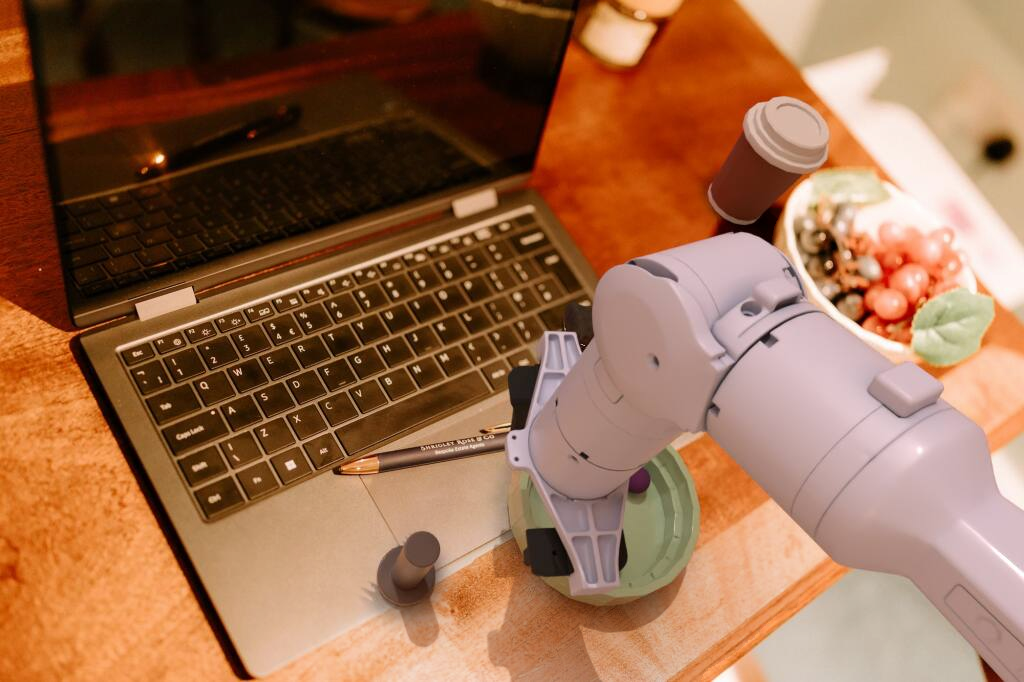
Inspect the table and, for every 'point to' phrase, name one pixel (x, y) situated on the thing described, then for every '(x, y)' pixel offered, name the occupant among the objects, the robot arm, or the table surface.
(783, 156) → the coffee cup
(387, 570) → the masher
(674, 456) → the bowl
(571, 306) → the hand tool
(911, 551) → the robot arm
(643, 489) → the berry
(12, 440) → the table surface
